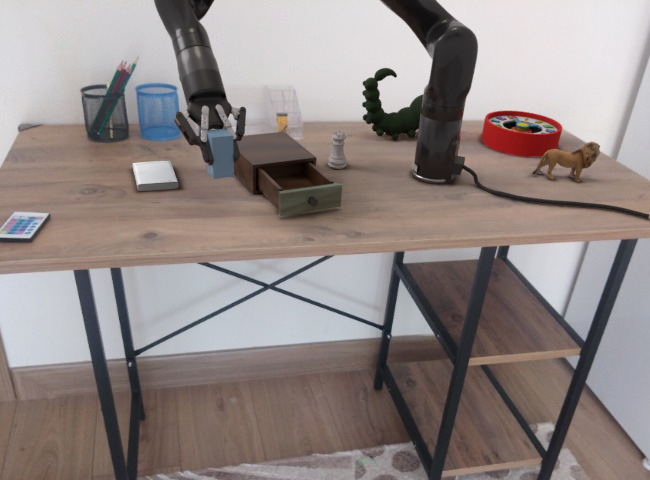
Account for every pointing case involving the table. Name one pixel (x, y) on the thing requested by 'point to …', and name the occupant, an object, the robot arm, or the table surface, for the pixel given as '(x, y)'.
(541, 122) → the toy clock
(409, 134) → the toy figurine
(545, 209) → the table surface
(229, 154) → the slate block
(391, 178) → the table surface
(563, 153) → the lion figurine
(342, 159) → the rook chess piece
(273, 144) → the cabinet
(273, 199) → the drawer
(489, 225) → the table surface
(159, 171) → the hard drive
